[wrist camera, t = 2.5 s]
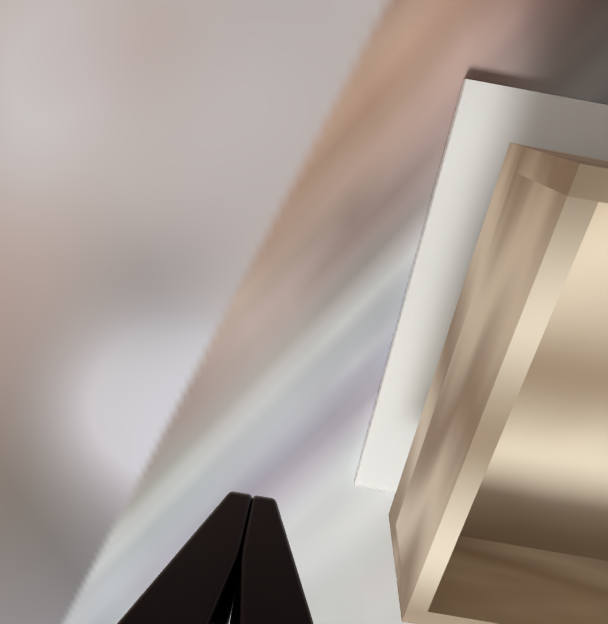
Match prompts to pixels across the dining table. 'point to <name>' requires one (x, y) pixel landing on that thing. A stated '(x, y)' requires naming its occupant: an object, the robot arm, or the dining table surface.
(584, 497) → the beige open tray
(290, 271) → the dining table surface
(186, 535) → the dining table surface
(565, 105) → the track board
